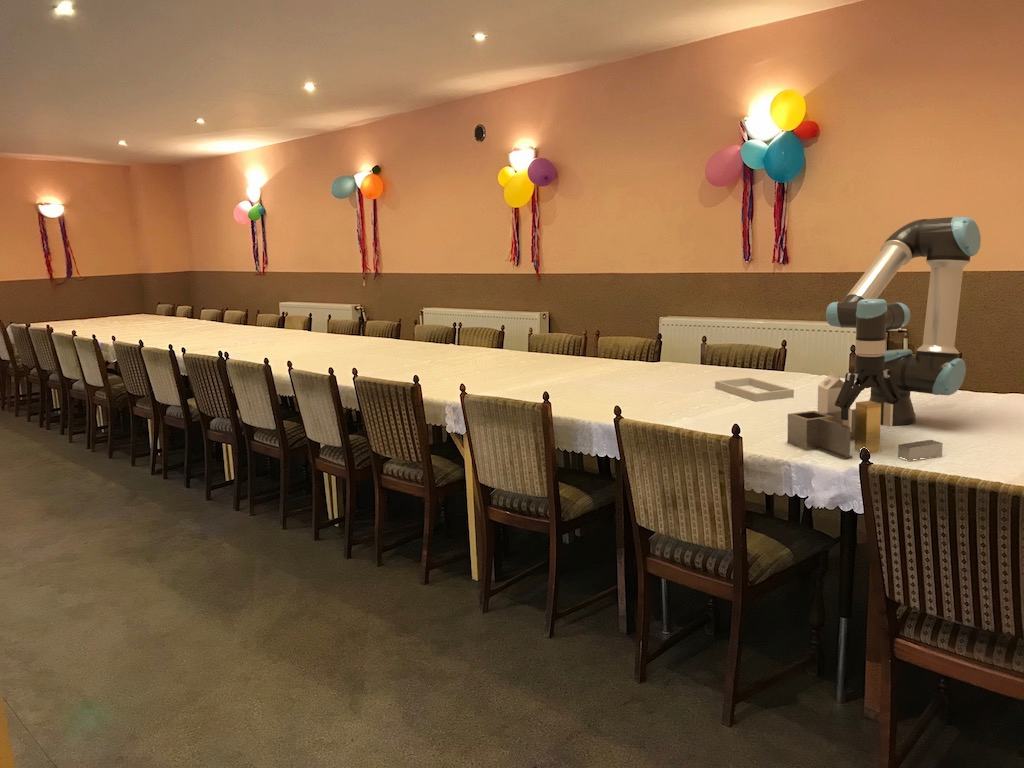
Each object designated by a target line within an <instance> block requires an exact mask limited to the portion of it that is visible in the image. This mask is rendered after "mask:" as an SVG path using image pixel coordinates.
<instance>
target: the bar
mask: <svg viewBox="0 0 1024 768" xmlns="http://www.w3.org/2000/svg"><path fill="white" fill-rule="evenodd" d="M897 446H898V447H897V458H898V457H902V458H905V459H907V460H913V459H920V458H928V459H930V458H929V457H934V458H938V457H937V456H940V457H943V442H941V441H937V440H933V439H926V440H921V441H914V442H906V443H900V444H898V445H897Z"/></svg>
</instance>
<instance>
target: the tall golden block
mask: <svg viewBox="0 0 1024 768" xmlns="http://www.w3.org/2000/svg"><path fill="white" fill-rule="evenodd" d="M855 409H856V417H855V440H854V450H855V451H858V452H860V449H861V448H863V447H865V448H867V449H868V450H869V452H870V453H869V454H871V452H872V454H873V453H878V452H877V451H880V448H881V443H880V442H881V425H882V424H881V403H877V402H873V401H869V400H865V401H856V402H855Z"/></svg>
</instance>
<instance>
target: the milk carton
mask: <svg viewBox="0 0 1024 768" xmlns="http://www.w3.org/2000/svg"><path fill="white" fill-rule="evenodd" d="M844 382H845V381H843V380H842V379H841V375H839V374H837V373H834V372H831V371H829V372H828V376H826V377H825V378H824V379H823V380H822V381H821V382H819V384H818V385H817V412H820V413H829V412H837V411H841V408H840V407H837V406H835V402H836V400H837V397H838V395H839V393H840V391H841V388H842V386H843V384H844ZM849 409H851V407H850V408H849Z"/></svg>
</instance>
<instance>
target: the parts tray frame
mask: <svg viewBox="0 0 1024 768" xmlns="http://www.w3.org/2000/svg"><path fill="white" fill-rule="evenodd" d="M745 386H751V387H754V388H756V389H757V388H758V389H761V390H765V392H755V391H751V390H748V389H745V388H742V387H745ZM714 389H716V390H719V391H722V392H724V393H725V392H726V393H728V394H731V395H734V396H737V397H741V398H744V399H746V400H750V401H752V402H755V403H756V402H765V401H766V402H767V401H772V400H773V401H774V400H783V399H791V398H792V399H793V398H794V395H795V390H794V389H793V388H790V387H787V386H783V385H779V384H776V383H775V384H774V383H772V382H768V381H764V380H761V379H756V378H754V377H743V378H735V379H734V378H733V379H724V380H715V382H714Z"/></svg>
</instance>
